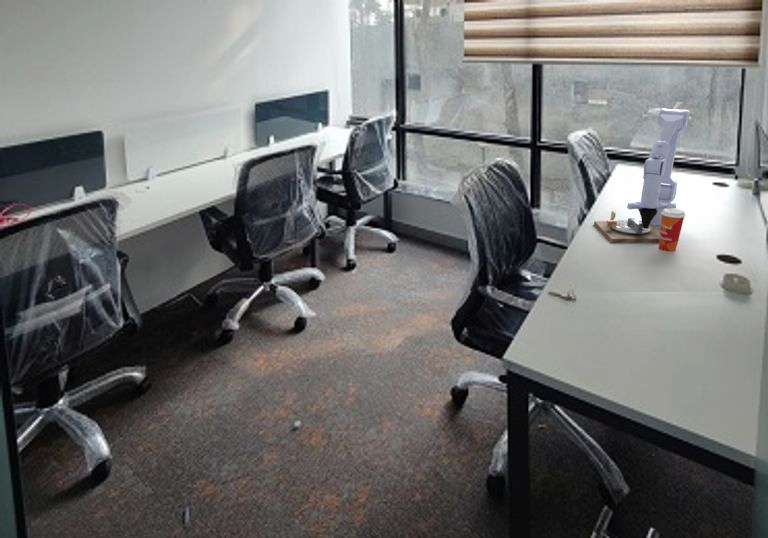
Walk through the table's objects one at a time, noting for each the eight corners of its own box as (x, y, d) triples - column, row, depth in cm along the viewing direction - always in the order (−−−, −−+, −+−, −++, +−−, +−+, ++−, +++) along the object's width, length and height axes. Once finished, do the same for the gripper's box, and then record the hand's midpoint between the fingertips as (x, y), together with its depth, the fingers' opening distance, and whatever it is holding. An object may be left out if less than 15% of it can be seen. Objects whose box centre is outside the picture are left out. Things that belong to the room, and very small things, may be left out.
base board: (647, 224, 242) (647, 221, 242) (669, 242, 223) (670, 238, 222) (593, 224, 243) (594, 221, 242) (611, 242, 223) (611, 238, 223)
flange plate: (642, 222, 238) (644, 212, 237) (658, 235, 224) (660, 225, 222) (601, 222, 239) (602, 212, 237) (614, 235, 224) (615, 225, 223)
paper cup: (651, 245, 220) (657, 207, 215) (671, 244, 221) (678, 207, 215) (662, 253, 213) (669, 214, 208) (683, 252, 213) (690, 213, 208)
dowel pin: (613, 223, 239) (615, 211, 237) (614, 224, 238) (616, 212, 236) (609, 223, 239) (610, 211, 237) (610, 224, 238) (612, 212, 236)
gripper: (634, 194, 218) (629, 231, 223) (675, 194, 218) (669, 231, 223) (627, 189, 225) (622, 225, 230) (667, 189, 225) (661, 225, 230)
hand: (645, 227), depth 227 cm, fingers closed
